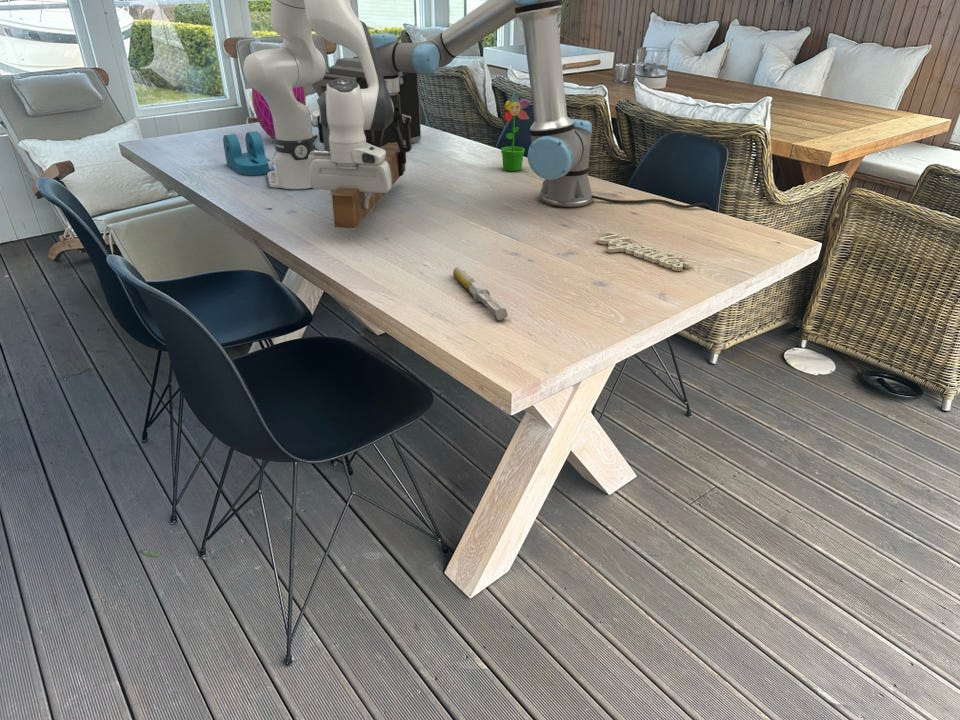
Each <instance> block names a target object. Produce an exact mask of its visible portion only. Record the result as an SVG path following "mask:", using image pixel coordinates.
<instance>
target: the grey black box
mask: <svg viewBox="0 0 960 720" xmlns="http://www.w3.org/2000/svg"><path fill="white" fill-rule="evenodd" d="M335 79H349V80H353V81H355V82H357V83H358V84H359V86H360V89H367V88H368V84H367V81H366V78H365V74H364V71H363V68H362V64H361V61H360V59H359V57H358V56H357V55H356V56H353V57H350V58H349V57H343V58H342V57H341V58H337V59H336V60H335V63H334V64H333V65H330V66H329V67H328V72H327V71H326V72H325V76H324V78H323V79H322V80H321V81H319V82H316V83H314V84H312V85H311V87H313V90H314V91H315V93H316V94H317V96H318V98H319V97H320V96H321V94H322V93H323V92H325V91H326V89H327V84H328V83H329V82H330V81H332V80H335ZM399 89H400V91H399V92H398V94H399V95H400V107H401V111H402V114H403V115H406V116H411V122H410V131H411V144H416V143H418V142H419V141H421V137H422V128H421V97H420V92H419V91H420V89H419V73H408V72H399ZM317 120H318V126H317V128H318V138H319V143H320V144H323V146H324V149H325V151H330V146H329V135H330V130H328V129H326V128H325V127H324V126H323V125H321V124H320V123H319V116H318V117H317ZM398 124H399V129H400V132H401V135H402V139H403V142H404V145H405V147H406V142H405V130H404V124H405V123H403V119H402V118H401V119H400V121H399V123H398ZM364 134H365V136H366V143H368V132H367V130H364ZM377 134H378V131H374V146H375V145H376V140H377ZM387 143H397V140H396V137H395V134H394V131H393V129H392V128H390V127H387V128H386V129H385V130H384V134H383V139H382V144H381V149H382V148H383V147H384V146H385V145H386V144H387Z"/></svg>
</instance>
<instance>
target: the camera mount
mask: <svg viewBox="0 0 960 720" xmlns="http://www.w3.org/2000/svg"><path fill="white" fill-rule="evenodd" d="M222 140H223V141H222V143H223V149H224V150H223V151H224V156H225V161H226V165H227V166H228V167H230V168H231V169H232V170H234V171H236V172H237V173H238V174H239V175H244V176H260V175H265V174H267V173H268V172H270V171H272V169H269V167H268V161H271V159H270V158H268V157H267V156H266V153H265V145H264V141H263V139H262V136H261V134H260V132H258V131H247V132H246V133H245V146H246V152H243V151H242V150H243V149H242V146H241V142H240V140H239V138H238V135H236V134H235V133H231V134H224V135H223V138H222Z"/></svg>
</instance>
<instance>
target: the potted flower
mask: <svg viewBox="0 0 960 720" xmlns="http://www.w3.org/2000/svg"><path fill="white" fill-rule="evenodd" d="M530 105H533V103H532V101H530V100H528V99H526V98H525V99H524V98H523V99H520V93H519V92H518V91H516V92H514V93H513V94H512V95H511V97H510V100H507V101H506V102H505V103H504V108H503V109H504V110H505V113H504V119H505V122H507V123H509V122H510V121H511V120H512V132H508V133H506V134H505V138H506V139H508V140H512V141H511V146H504V147H501V149H500V151H501V157H502V169H503V170H504V171H507V172H519V171H521V170H522V167H523V161H524V154H525V147H522V146H515V133H517V132H519V130H520V127H518V126H517V127H516V118H518V119H519V120H522V121H526V120H529V119H530V117H529V115H528V113H527V112H526V111H524V109H526V108H527V107H529V106H530Z"/></svg>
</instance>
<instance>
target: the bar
mask: <svg viewBox="0 0 960 720" xmlns="http://www.w3.org/2000/svg"><path fill="white" fill-rule="evenodd" d="M382 149H384V150H385V151H386V157H385V159H384V160H385V161H387V163H388V164H389V167H390V172H391V179H392V186H393V185H394V184H395V183H396V182H397V181H398V180H399V179H400V178H401V176H399V163H398V154H399V153H400V150H399V146H398V143H387V144H386V145H385V146H384V147H383V148H382ZM403 169H404V173H405V172H406V164H403ZM385 195H386V193H374V192H372V196H371V198H370V200H369V208H368V209H362V207H361V206H362V205H361V202H362V201H363V200H366V198H367V196H365V192H359V189H343V188H339V189H337V190H336V191H335V192H334V193H333V194H332V195H331V202H332V210H333V211H332V212H333V223H334V228H338V229H357V227H358V226H359V225H360V224H361V223H362V221H363V220H364V219H365V218H366V217H367V216H368V215H369V214H370V212H371V211H372V210H373V208H375V206H376V205H377V204H378V203H379V202H380V201H381V199H382V198H383V197H384V196H385Z"/></svg>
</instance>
